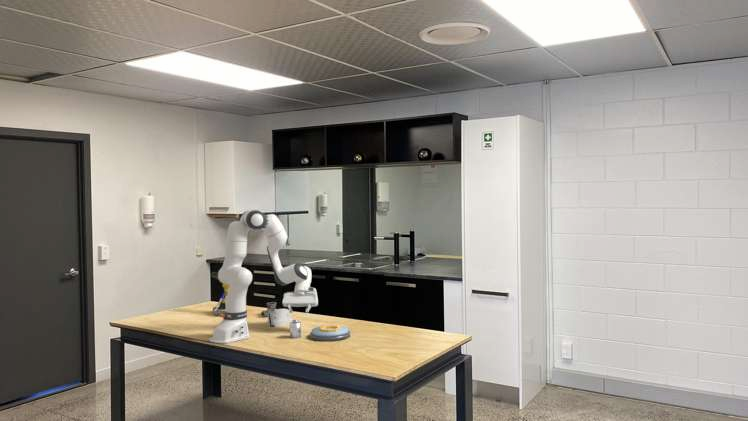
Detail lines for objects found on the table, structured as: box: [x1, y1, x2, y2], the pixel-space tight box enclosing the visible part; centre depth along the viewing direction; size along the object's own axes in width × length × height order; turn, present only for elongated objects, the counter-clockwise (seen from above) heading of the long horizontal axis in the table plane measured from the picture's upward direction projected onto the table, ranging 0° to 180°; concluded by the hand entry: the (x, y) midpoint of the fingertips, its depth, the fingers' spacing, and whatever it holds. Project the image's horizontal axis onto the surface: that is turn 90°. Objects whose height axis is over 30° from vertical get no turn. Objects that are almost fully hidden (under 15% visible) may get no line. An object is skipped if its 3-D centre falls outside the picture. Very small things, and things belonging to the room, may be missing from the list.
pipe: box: [260, 301, 278, 318], centre depth 357 cm, size 6×13×8 cm, turn 152°
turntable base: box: [309, 329, 351, 343], centre depth 300 cm, size 22×22×2 cm
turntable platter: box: [311, 325, 349, 337], centre depth 300 cm, size 20×20×3 cm
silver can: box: [289, 319, 302, 339], centre depth 300 cm, size 6×6×9 cm
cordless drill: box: [210, 270, 229, 317], centre depth 368 cm, size 18×19×28 cm
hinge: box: [267, 308, 294, 328], centre depth 333 cm, size 17×5×10 cm, turn 144°
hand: (298, 312), depth 308 cm, fingers open, 8 cm apart
